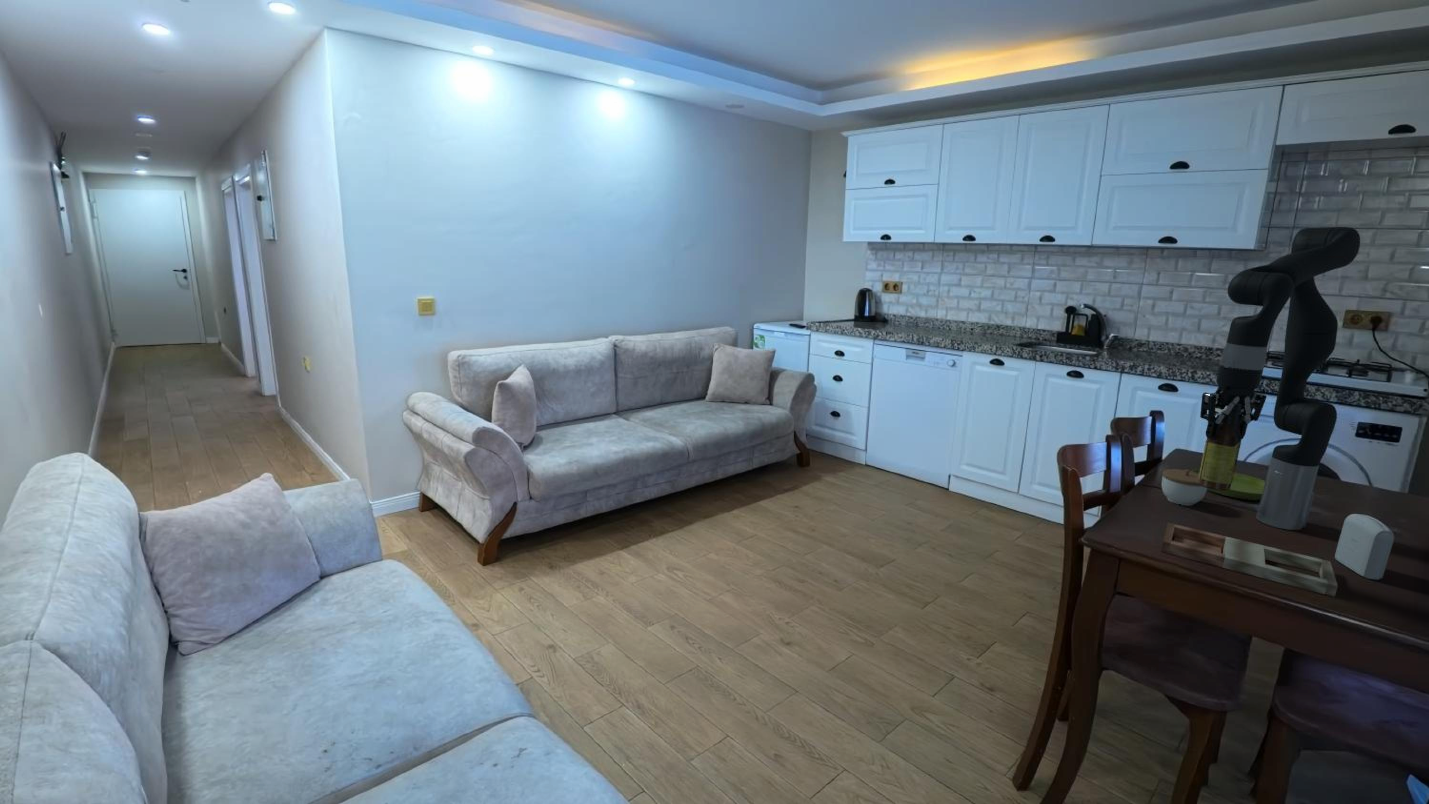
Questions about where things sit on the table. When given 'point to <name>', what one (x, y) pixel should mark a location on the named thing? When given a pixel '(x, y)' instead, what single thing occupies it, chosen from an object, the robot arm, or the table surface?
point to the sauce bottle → (1222, 453)
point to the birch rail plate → (1249, 558)
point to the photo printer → (1364, 545)
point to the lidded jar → (1182, 487)
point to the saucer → (1242, 487)
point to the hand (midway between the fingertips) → (1224, 438)
